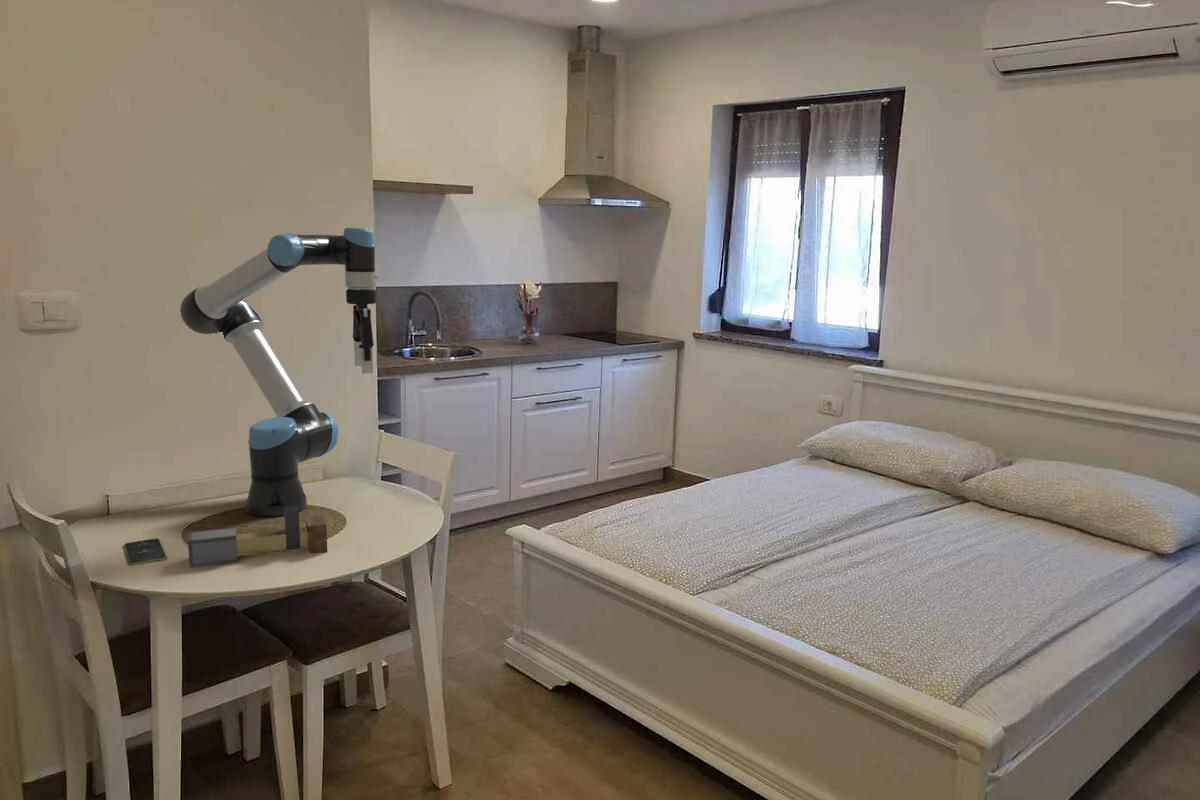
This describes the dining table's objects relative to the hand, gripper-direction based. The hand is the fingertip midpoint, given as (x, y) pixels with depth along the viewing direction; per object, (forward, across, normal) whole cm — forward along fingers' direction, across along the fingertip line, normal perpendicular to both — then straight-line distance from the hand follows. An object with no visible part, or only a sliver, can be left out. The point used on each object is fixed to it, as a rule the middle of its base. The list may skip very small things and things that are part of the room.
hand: (363, 369), depth 226 cm
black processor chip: (+37, -20, +52) cm, 67 cm away
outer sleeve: (+37, -31, +38) cm, 61 cm away
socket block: (+37, -31, +16) cm, 50 cm away
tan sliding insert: (+36, -31, +25) cm, 53 cm away
